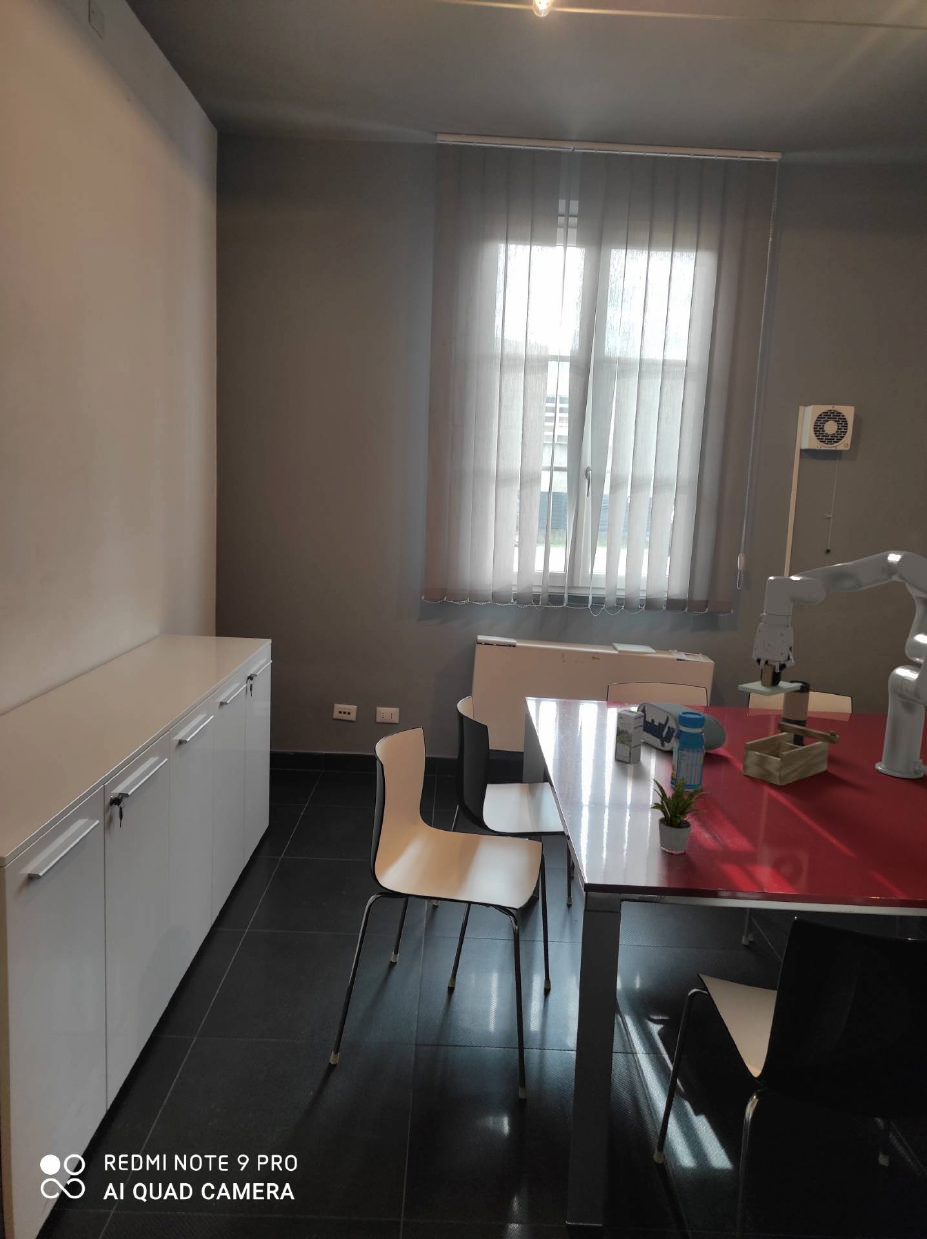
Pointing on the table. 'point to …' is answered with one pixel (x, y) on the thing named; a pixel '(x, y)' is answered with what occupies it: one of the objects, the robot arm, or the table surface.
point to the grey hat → (675, 726)
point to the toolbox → (783, 759)
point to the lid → (768, 684)
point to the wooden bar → (809, 732)
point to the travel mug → (796, 708)
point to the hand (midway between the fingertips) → (769, 683)
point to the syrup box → (629, 736)
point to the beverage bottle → (689, 750)
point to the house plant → (676, 816)
